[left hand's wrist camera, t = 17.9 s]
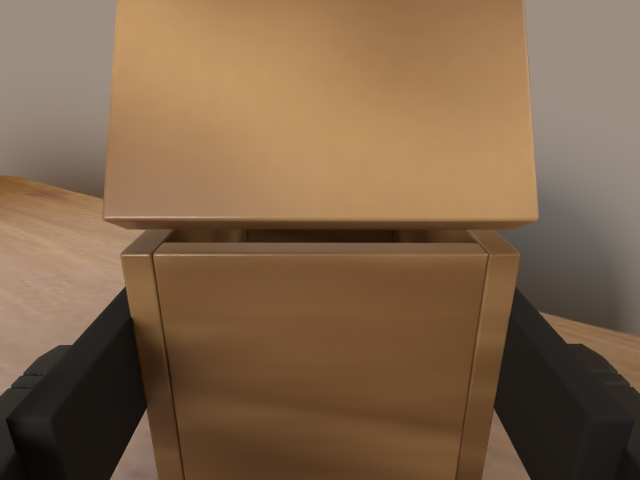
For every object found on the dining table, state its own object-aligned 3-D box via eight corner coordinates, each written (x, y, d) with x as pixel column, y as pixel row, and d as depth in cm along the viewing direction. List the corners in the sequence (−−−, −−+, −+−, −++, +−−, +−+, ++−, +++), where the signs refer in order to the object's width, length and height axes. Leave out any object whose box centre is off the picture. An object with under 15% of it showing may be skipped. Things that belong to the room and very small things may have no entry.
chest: (241, 317, 26) (230, 151, 22) (398, 317, 26) (410, 151, 22) (169, 546, 13) (118, 253, 10) (470, 546, 13) (522, 253, 10)
